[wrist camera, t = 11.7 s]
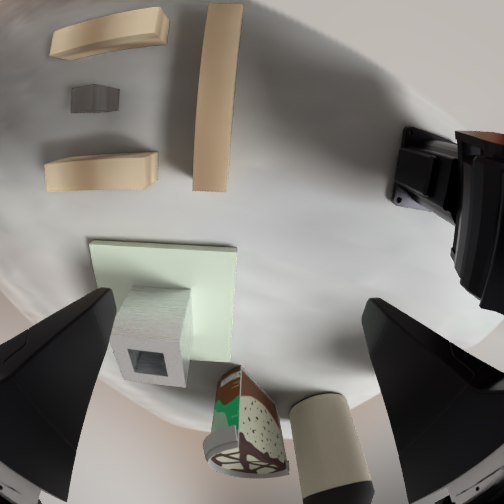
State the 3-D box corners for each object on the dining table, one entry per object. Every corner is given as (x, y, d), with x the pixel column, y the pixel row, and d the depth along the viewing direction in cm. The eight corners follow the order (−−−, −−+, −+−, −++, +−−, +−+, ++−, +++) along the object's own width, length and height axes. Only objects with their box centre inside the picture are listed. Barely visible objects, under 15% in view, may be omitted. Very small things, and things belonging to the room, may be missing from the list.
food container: (184, 373, 27) (174, 453, 19) (233, 357, 26) (234, 445, 18) (239, 420, 33) (241, 484, 24) (281, 408, 32) (290, 475, 23)
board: (237, 247, 21) (237, 252, 20) (230, 356, 26) (230, 362, 26) (93, 240, 20) (89, 244, 19) (117, 345, 25) (115, 350, 25)
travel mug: (309, 388, 30) (339, 525, 14) (357, 393, 32) (395, 508, 15) (278, 418, 33) (293, 535, 17) (324, 422, 35) (348, 525, 18)
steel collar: (191, 289, 22) (179, 341, 16) (193, 334, 24) (186, 387, 18) (132, 284, 21) (107, 333, 16) (141, 330, 23) (123, 379, 18)
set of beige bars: (242, 20, 14) (243, -3, 10) (227, 181, 19) (225, 196, 15) (74, 39, 12) (46, 28, 9) (67, 181, 18) (38, 196, 14)
